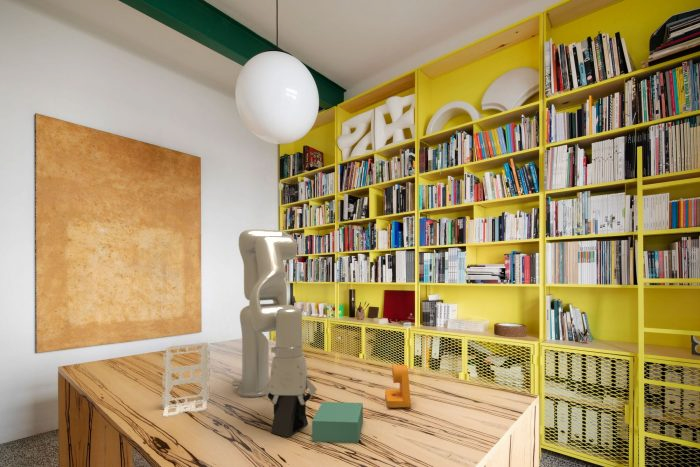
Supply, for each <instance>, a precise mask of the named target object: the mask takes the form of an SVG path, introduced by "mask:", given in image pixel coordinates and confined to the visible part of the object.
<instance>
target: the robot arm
mask: <svg viewBox="0 0 700 467" xmlns="http://www.w3.org/2000/svg"><path fill="white" fill-rule="evenodd" d="M297 245H298V244H297V241H296V240H295V238H294V237H293V235H291V234H290V233H287V232H285V231H284V230H275V229H274V230H273V229H247V230H243V231H242V232H241V233H240V234H239V236H238V250H239V253H240V256H241V259H242V263H243V264H242V265H243V294H244V298H245V299H246V300H247V301H248V303H249V305H246V306H244V307H243V308H242V309H241V310H240V312H239V313H240V314H239V322H240V328H241V344H242V345H241V348H242V349H241V351H242V352H241V353H242V354H241V355H242V356H241V359H242V361H241V364H242V365H241V367H242V368H241V379H238V378H233V379H232V382H231V384H232V387H238V389H237V394H238V396H239V397H243V398H257V397H263V396H267V398H268V399H269V400H270V401H271V403H272V405H273V415H274V414H275V412H276V411H277V409H278V404H277V402H278V401H277V400H278V398H279V396H298V398H299V401H300V404H299V420H302V418H303V417H304V416H305V414H306V413H307V412H306V411H307V410H306V406H307V405H306V403H307V401H309V400H310V398H312V396H313V395H314V394H315V393H316V391H317V387H315V385H314V384H313V383H312V382H311V381H310V380H309V378H308V377H309V375H308V374H309V373H308V366H307V360H306V357H305V355H303V312H302V310H301V309H300V308H299V307H295V306H294V305H293V304H287V303H288V297H287V296H288V294H287V293H288V290H287V289H288V288H287V284H286V280H285V279H286V275H287V274H286V269H285V264H284V260H286V261H289V260H294V259H295V258H296V257H297V253H298V246H297ZM261 301H272V303H261ZM269 332H275V346H274V347H271V349H270V348H269V346H270V345H269V340H268V338H267V337H266V335H265V334H264V333H269ZM269 349H270V351H271V353H274V356H273V357H272V360H271V362H272V363H271V366H270V367H271V368H269V365H270V364H269V359H270V358H269V356H270V354H269V352H270V351H269ZM269 369H270V372H269ZM269 374H270V375H269ZM307 390H309V392H307V393H305V392H306V391H307ZM306 415H307V414H306Z"/></svg>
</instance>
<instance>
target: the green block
mask: <svg viewBox="0 0 700 467" xmlns="http://www.w3.org/2000/svg"><path fill="white" fill-rule="evenodd" d="M363 407H364V405H363V402H342V401H341V402H338V401H335V402H333V401H322V402H321V404H320V406H319V408H318V410H316V413H315V415H314V417H313V419H312V421H311V431H312V434H311V436H312V437H311V438H312V439H311V440H312V442H319V443H320V442H321V443H345V444H346V443H349V444H351V443H352V444H359V442H360V436H361V433H362V427H363V422H364V411H363V410H364V408H363Z"/></svg>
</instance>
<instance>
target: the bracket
mask: <svg viewBox="0 0 700 467" xmlns="http://www.w3.org/2000/svg"><path fill="white" fill-rule="evenodd" d="M391 372H392V381H393V384H394V383H395V384H399V388H397V389H396V388H393V389H391V388H390V389H388V388H387V389H385V390H384V394H385V395H384V396H385V403H386V407H387V408H411V407H412V404H411V389H410V378H409V369H408V365H407V364H399V365H398V364H397V365H396V364H395V365H392V371H391Z"/></svg>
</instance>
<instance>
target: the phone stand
mask: <svg viewBox="0 0 700 467" xmlns="http://www.w3.org/2000/svg"><path fill="white" fill-rule="evenodd" d="M277 401H278V402H277V404H278V409H277V411H276V412H275V414H274V413H273V420H272V425H271V429H270V433H271V434H274V435H278V436H279V437H280V436H281V437H286V438H287V439H288V438H290V437H293V435H295V434H296V433H298V432H299V431H301V430H302V429H304V428H305V427H306V426H308V425H309V422H308V418H307V414H305V416H304V417H303V418H302V420H299V404H300V401H299V398H298V396H279V398H278V400H277Z"/></svg>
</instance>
